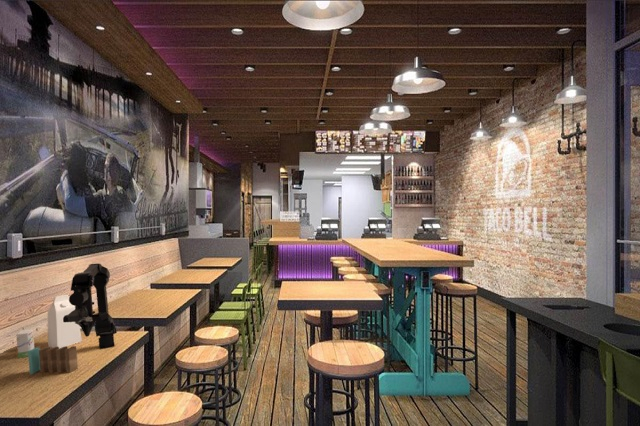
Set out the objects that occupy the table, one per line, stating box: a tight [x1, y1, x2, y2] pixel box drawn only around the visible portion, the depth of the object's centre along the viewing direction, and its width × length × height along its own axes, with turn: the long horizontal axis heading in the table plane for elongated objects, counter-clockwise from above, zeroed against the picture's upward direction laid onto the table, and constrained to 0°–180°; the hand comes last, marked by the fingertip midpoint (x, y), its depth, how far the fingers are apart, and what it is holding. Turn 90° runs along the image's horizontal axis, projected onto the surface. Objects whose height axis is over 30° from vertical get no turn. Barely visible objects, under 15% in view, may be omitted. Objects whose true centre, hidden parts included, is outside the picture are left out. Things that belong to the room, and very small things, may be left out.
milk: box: [47, 294, 83, 349], centre depth 223 cm, size 12×12×26 cm
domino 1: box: [27, 347, 41, 375], centre depth 183 cm, size 2×4×10 cm, turn 170°
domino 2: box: [39, 346, 51, 374], centre depth 183 cm, size 2×4×10 cm, turn 170°
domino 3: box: [47, 347, 60, 374], centre depth 183 cm, size 2×4×10 cm, turn 170°
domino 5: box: [65, 345, 79, 374], centre depth 181 cm, size 2×4×10 cm, turn 170°
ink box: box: [15, 328, 35, 359], centre depth 209 cm, size 8×5×12 cm, turn 19°
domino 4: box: [56, 346, 69, 374], centre depth 182 cm, size 2×4×10 cm, turn 170°
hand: (87, 336), depth 185 cm, fingers closed
